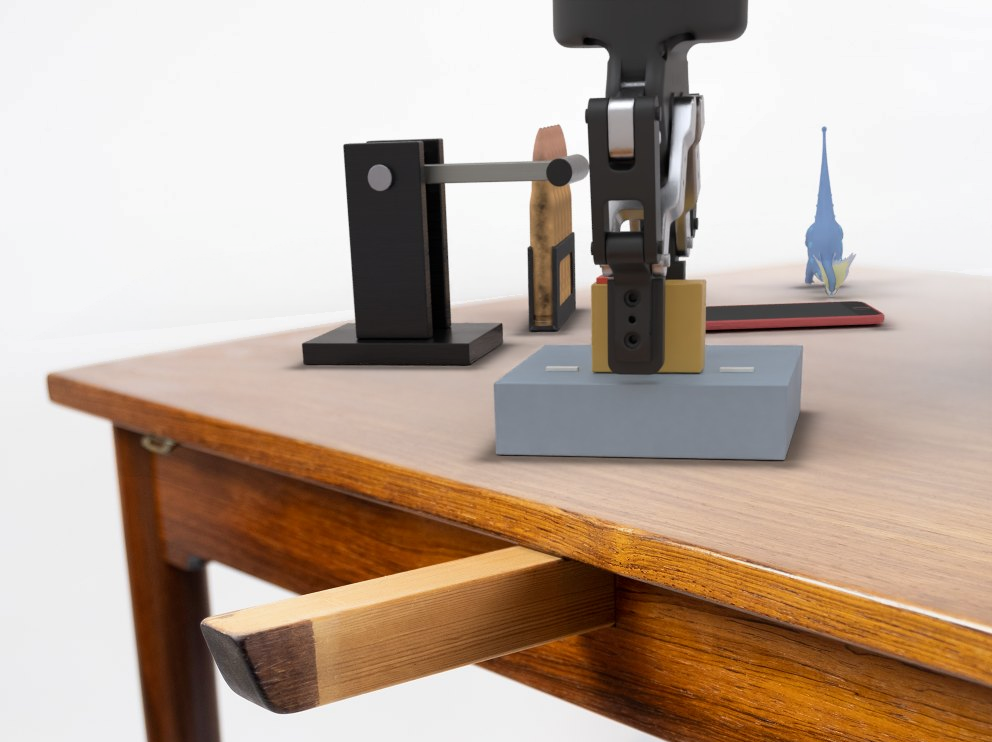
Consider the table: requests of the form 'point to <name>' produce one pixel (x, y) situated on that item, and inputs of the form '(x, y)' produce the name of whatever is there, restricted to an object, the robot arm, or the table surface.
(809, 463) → the table surface
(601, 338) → the yellow block
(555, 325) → the ammunition clip
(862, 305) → the smartphone
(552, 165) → the handle lever
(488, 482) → the table surface
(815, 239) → the dinosaur figurine
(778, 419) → the switch base
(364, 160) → the lever stand
